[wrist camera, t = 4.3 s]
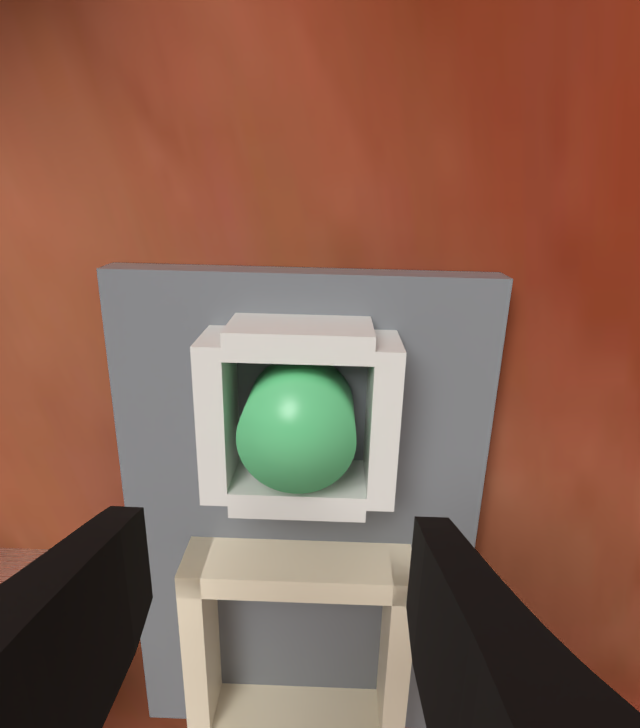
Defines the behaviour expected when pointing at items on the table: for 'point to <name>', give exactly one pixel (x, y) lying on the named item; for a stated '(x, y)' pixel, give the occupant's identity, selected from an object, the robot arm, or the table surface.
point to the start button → (298, 428)
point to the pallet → (287, 510)
